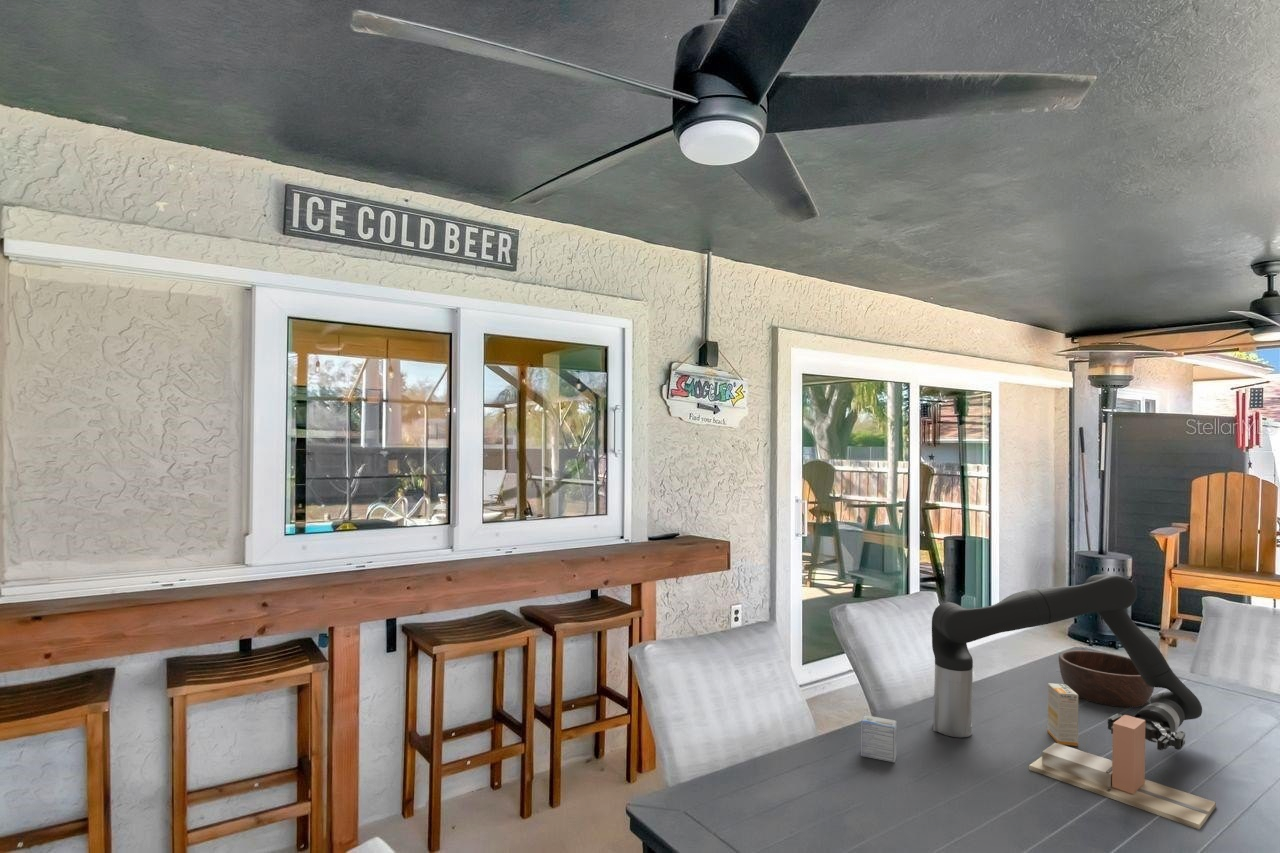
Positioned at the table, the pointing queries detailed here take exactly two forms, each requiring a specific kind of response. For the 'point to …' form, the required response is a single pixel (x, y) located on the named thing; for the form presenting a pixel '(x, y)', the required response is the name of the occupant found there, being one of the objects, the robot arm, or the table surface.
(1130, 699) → the wooden bowl
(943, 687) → the robot arm
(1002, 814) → the table surface
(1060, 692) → the supplement box
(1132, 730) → the salmon orange block
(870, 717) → the medicine box
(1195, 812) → the wooden base board
